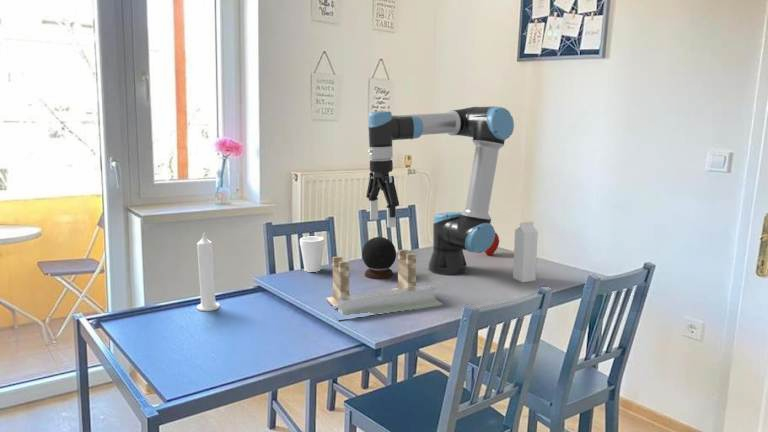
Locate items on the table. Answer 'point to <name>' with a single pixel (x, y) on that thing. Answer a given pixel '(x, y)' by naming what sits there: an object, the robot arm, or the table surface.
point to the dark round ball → (379, 258)
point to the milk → (525, 252)
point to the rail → (386, 300)
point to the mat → (411, 307)
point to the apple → (493, 246)
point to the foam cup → (312, 252)
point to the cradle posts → (342, 275)
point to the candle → (206, 275)
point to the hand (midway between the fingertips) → (382, 223)
